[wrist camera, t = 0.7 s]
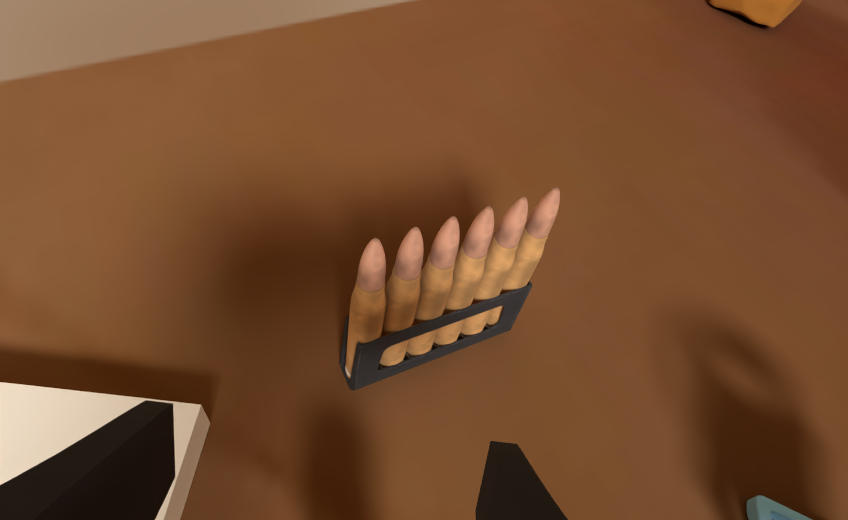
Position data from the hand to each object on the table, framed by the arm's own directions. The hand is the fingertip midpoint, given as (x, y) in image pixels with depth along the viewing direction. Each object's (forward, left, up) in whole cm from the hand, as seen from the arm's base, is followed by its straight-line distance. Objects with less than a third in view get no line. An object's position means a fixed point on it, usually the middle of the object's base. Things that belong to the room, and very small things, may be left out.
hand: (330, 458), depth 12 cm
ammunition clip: (+12, -4, -16) cm, 20 cm away
